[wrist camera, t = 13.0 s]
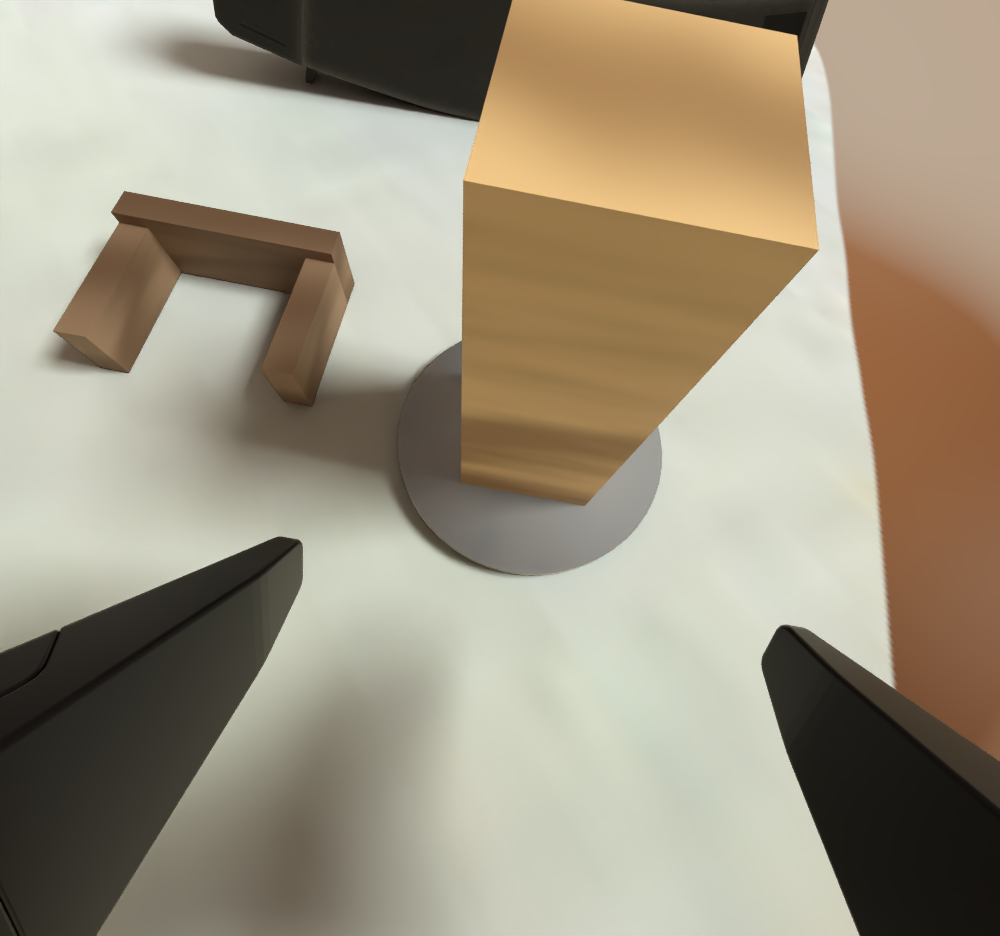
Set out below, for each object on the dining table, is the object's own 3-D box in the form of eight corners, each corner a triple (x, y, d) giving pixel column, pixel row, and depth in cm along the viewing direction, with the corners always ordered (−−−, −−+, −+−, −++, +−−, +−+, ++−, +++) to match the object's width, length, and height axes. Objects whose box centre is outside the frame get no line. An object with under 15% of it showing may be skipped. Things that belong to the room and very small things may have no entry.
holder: (311, 406, 20) (287, 368, 17) (100, 367, 20) (41, 322, 17) (354, 283, 22) (339, 232, 20) (166, 247, 22) (124, 191, 20)
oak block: (585, 505, 19) (819, 249, 7) (460, 482, 19) (463, 180, 6) (596, 396, 20) (797, 35, 8) (483, 375, 20) (517, -21, 8)
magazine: (937, -67, 21) (142, -781, 11) (954, -26, 19) (85, -781, 10) (669, 225, 36) (235, 21, 27) (670, 259, 35) (216, 57, 25)
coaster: (464, 625, 18) (465, 624, 17) (361, 385, 21) (357, 376, 20) (703, 507, 20) (712, 501, 19) (578, 308, 23) (582, 297, 22)
